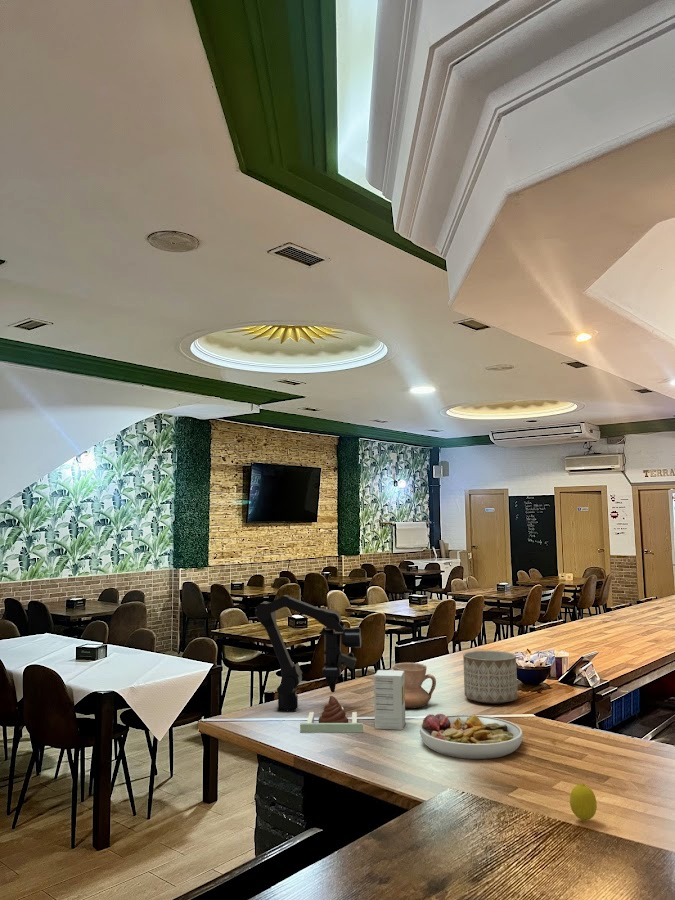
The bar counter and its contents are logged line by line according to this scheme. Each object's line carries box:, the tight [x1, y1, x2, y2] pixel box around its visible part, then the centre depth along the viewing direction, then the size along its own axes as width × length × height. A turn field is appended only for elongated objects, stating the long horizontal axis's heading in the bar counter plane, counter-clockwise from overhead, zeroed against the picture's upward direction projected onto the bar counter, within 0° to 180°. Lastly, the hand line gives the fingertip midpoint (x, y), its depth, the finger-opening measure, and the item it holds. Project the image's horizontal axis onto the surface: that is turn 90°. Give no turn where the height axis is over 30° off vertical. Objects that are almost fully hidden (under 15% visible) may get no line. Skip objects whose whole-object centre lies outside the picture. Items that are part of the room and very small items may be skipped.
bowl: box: [419, 713, 523, 760], centre depth 202 cm, size 30×30×8 cm
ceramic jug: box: [392, 662, 437, 709], centre depth 247 cm, size 18×14×14 cm
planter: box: [462, 650, 519, 705], centre depth 254 cm, size 19×19×16 cm
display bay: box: [299, 711, 364, 734], centre depth 223 cm, size 20×14×2 cm
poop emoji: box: [318, 695, 349, 723], centre depth 224 cm, size 10×8×9 cm
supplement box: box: [373, 669, 406, 731], centre depth 223 cm, size 10×9×17 cm
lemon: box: [569, 782, 598, 823], centre depth 149 cm, size 6×6×8 cm
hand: (332, 692), depth 242 cm, fingers closed
